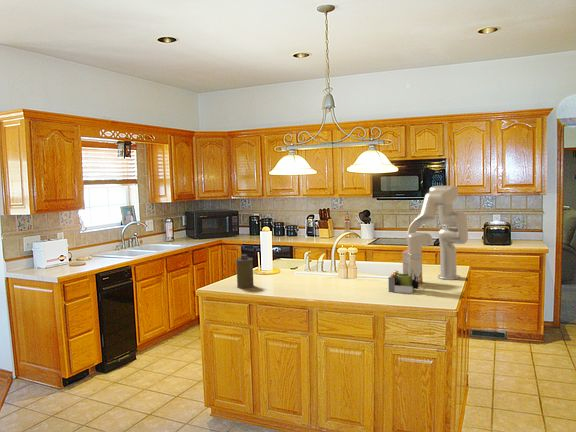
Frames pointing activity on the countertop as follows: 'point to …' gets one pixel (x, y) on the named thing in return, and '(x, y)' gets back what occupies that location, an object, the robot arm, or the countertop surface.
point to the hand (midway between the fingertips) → (415, 288)
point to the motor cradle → (398, 285)
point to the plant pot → (405, 279)
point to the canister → (244, 272)
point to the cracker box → (406, 265)
